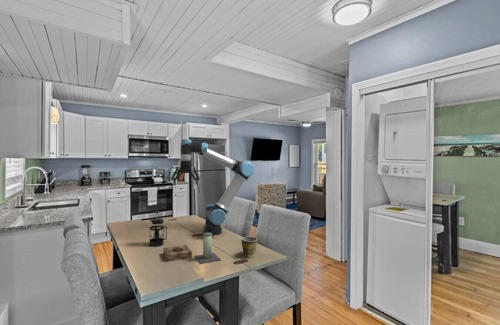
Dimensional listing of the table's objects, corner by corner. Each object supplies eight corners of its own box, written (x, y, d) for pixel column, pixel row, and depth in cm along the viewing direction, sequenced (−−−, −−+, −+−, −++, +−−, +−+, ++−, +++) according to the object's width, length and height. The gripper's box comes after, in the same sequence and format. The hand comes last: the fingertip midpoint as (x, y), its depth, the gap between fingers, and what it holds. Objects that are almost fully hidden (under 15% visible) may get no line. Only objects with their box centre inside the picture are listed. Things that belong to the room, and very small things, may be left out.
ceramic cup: (259, 257, 151) (259, 240, 152) (243, 258, 149) (243, 242, 149) (252, 250, 164) (253, 234, 164) (238, 251, 161) (238, 235, 161)
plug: (209, 255, 152) (210, 232, 152) (212, 258, 147) (213, 234, 147) (201, 256, 149) (202, 233, 149) (204, 259, 145) (204, 235, 145)
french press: (148, 247, 165) (149, 212, 166) (147, 243, 174) (147, 210, 174) (167, 245, 171) (168, 211, 171) (165, 241, 179) (165, 209, 179)
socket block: (186, 250, 161) (186, 244, 161) (191, 257, 149) (191, 251, 149) (163, 253, 155) (163, 247, 155) (167, 261, 143) (167, 255, 143)
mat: (213, 253, 156) (213, 252, 156) (220, 260, 146) (220, 259, 146) (194, 256, 151) (194, 255, 151) (200, 263, 140) (200, 262, 140)
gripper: (200, 160, 193) (200, 188, 193) (167, 160, 182) (166, 189, 182) (203, 160, 187) (203, 189, 186) (169, 159, 175) (168, 190, 175)
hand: (185, 189), depth 184 cm, fingers open, 13 cm apart
